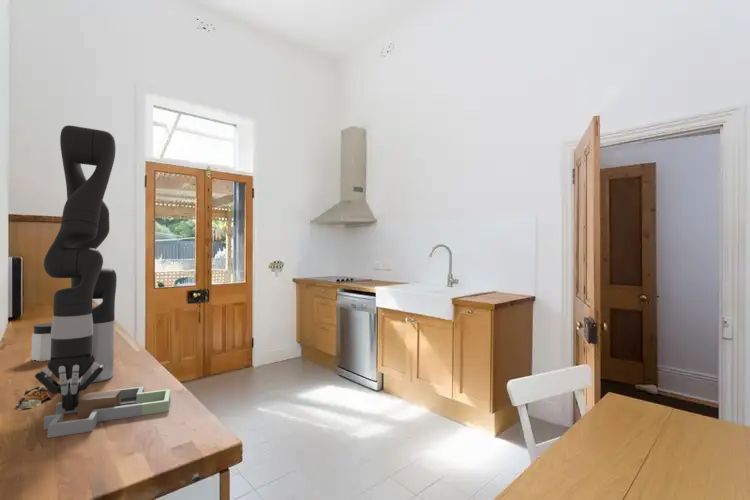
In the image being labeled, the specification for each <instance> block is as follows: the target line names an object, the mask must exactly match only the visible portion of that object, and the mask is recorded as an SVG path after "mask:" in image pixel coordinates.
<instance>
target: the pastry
mask: <svg viewBox="0 0 750 500" xmlns="http://www.w3.org/2000/svg"><path fill="white" fill-rule="evenodd" d="M56 397H57V393H56V394H53V393H52V392H50V391H49V390H48V389H47V388H46V387H45V386H44V385H43V384H42V385H41V386H40V385H35V386H33V387H31V388H30V389H26V390H25V392H24V394H23V396H21V397H20V399H19V400H18V403H16V405H15V410H16V409H17V410H18V411H21V410H25V409H34V408H37V407H40V406H41V405H42V401H45V400H47V399H48V398H49V399H50V400H54V399H55V398H56Z"/></svg>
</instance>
